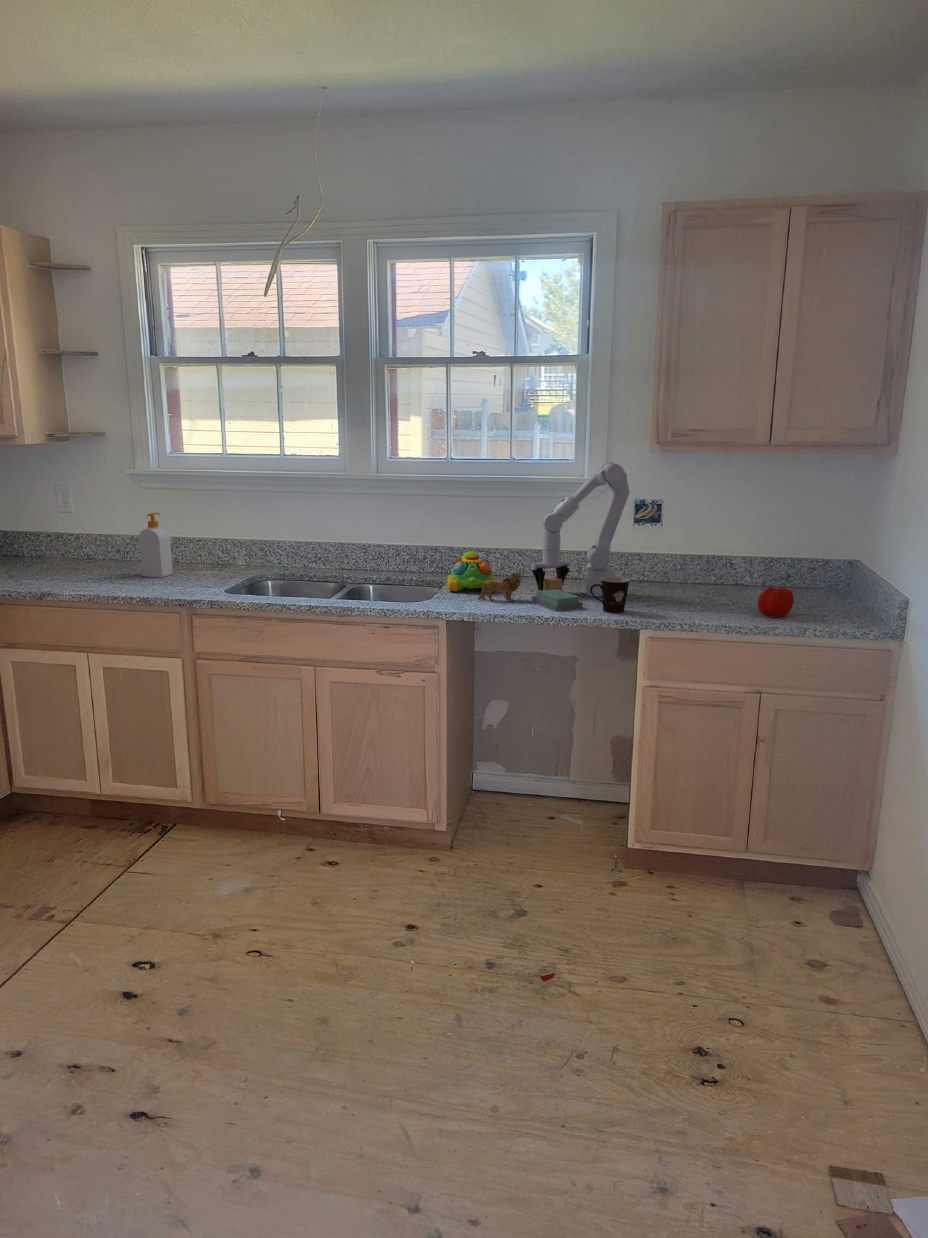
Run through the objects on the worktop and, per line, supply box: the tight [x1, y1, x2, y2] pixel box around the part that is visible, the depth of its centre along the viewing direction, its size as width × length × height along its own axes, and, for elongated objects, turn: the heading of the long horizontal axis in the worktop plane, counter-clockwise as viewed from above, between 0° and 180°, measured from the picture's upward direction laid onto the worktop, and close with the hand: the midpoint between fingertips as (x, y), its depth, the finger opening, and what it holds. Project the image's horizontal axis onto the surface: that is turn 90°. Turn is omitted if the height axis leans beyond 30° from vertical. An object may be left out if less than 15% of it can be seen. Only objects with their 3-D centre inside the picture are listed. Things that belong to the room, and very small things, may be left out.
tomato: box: [757, 586, 795, 618], centre depth 253 cm, size 11×11×9 cm
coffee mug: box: [590, 576, 630, 614], centre depth 258 cm, size 12×9×10 cm
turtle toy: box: [447, 551, 496, 593], centre depth 289 cm, size 17×23×12 cm
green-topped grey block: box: [531, 589, 584, 612], centre depth 265 cm, size 10×14×4 cm
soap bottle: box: [138, 512, 174, 579], centre depth 302 cm, size 9×7×23 cm
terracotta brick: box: [537, 575, 563, 591], centre depth 281 cm, size 4×8×6 cm, turn 27°
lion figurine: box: [477, 571, 522, 602], centre depth 271 cm, size 15×5×9 cm, turn 106°
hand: (549, 589), depth 281 cm, fingers open, 7 cm apart
